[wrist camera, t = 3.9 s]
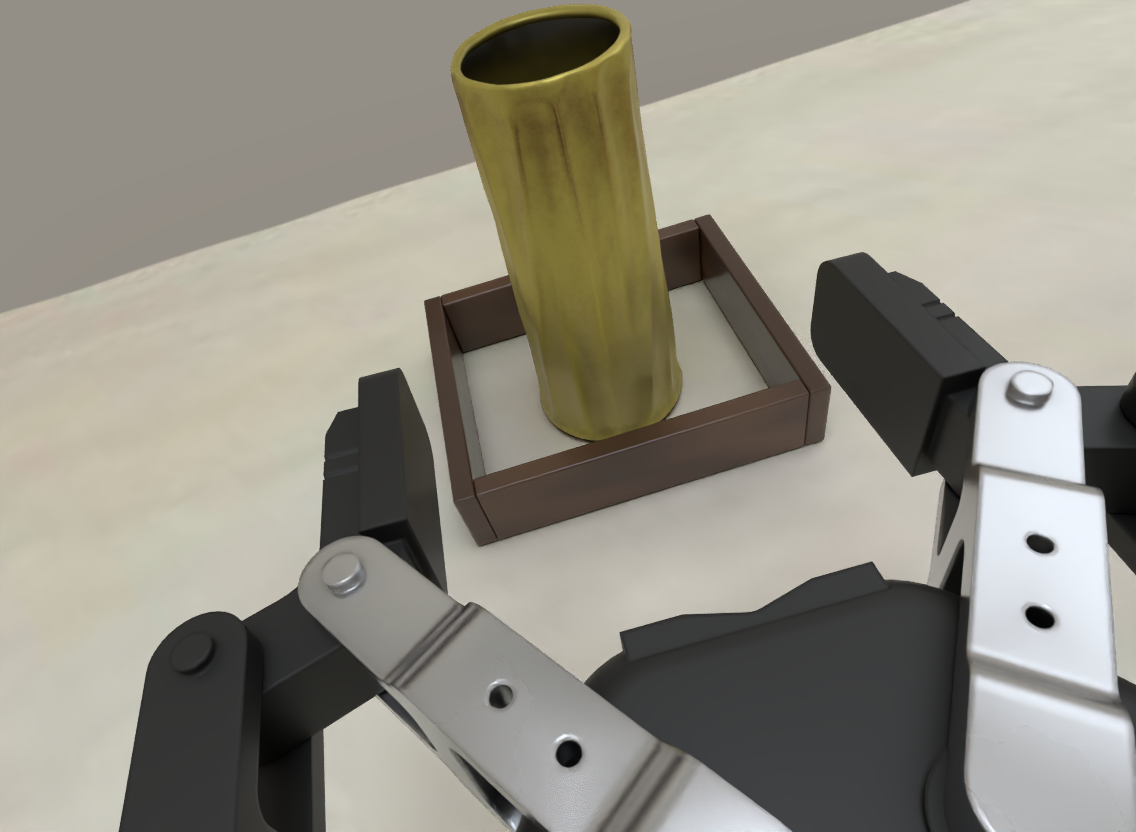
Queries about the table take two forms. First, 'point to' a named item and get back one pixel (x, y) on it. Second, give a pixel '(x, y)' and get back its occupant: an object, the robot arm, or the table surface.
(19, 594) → the table surface
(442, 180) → the table surface
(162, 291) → the table surface
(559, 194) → the vase
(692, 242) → the open brown wooden box
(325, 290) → the table surface
